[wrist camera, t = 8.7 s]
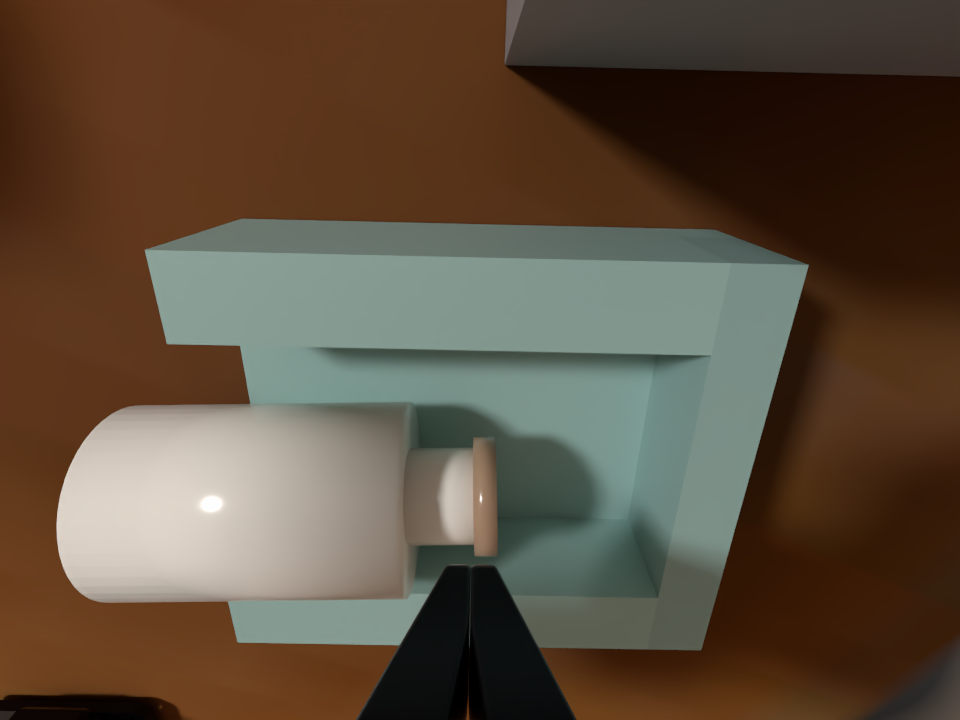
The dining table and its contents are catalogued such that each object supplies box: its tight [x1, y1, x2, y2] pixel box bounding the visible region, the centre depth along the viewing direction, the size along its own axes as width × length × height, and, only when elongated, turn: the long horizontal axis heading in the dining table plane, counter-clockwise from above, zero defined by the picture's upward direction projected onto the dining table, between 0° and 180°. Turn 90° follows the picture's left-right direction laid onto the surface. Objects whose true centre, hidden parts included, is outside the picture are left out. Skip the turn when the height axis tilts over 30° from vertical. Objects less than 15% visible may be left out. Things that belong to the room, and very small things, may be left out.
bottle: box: [57, 402, 498, 603], centre depth 12 cm, size 4×4×8 cm
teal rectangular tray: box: [145, 219, 809, 650], centre depth 13 cm, size 10×12×4 cm
